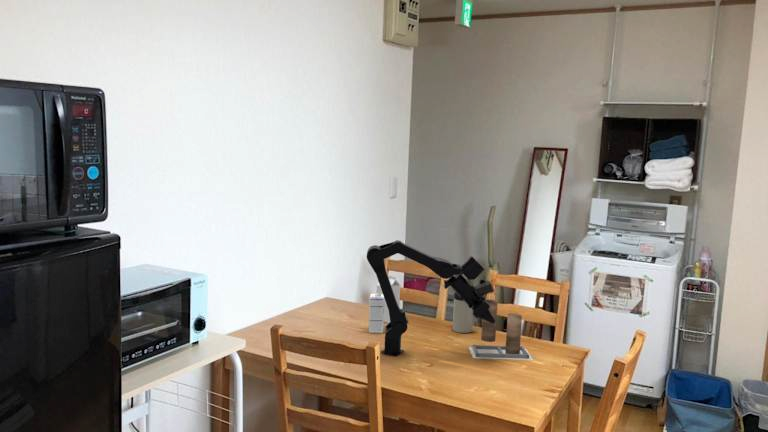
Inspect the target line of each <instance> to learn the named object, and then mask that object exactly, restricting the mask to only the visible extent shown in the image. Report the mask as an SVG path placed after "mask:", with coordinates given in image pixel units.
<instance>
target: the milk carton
mask: <svg viewBox="0 0 768 432" xmlns="http://www.w3.org/2000/svg"><path fill="white" fill-rule="evenodd" d="M388 277H389V280H390V283H391V286H392V289H393V292H394V295H395V298H396V301H397V303H398V306H399V307H400V305H401V304H400V300H401V299H400V297H401V296H400V295H401V285H400V283H399V282H398V280H396V279H397V278H396V276H392V275H388ZM375 294H383V293H382V290H381V287H380V284H379V281H377V284H376V293H375ZM384 323H387V324H389V323H390V316H389V310H388V307H387V304H386V301H385V298H384Z"/></svg>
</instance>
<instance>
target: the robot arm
mask: <svg viewBox="0 0 768 432" xmlns="http://www.w3.org/2000/svg"><path fill="white" fill-rule="evenodd" d="M397 254H398V255H401V256H403V257H405V258H408V259H410V260H412V261H414V262H416V263H418V264H421V266H425V267H426V268H428V269H430V270H431V271H432V272H434V274H436V275H437V276H439V277H440V278H441V279H443V288H444V289H445V290H447V289H448V288H449V287H450V288H451V289H452V290H453V291H454V293H455V292H456V293H457V294H458V295H459V296H460V298H461V299H462V300H464V302H465V303H466V304H467V305H468V307H469V308H471V307H472V306H473V307H472V314H473V317H475V319H481V320H482V319H484V320H486V321H488V322H491V323H493V324H494V323H495V322H496V323H497V321H495V320H494V318H493V317H492V315H491V313H490V312H489V307H490V305H489V304H488V303H487V302H486V301H485V300H486V298H485V297H484V296H485V295H488V294H490V293H491V294H492V293H493V292H494V291H495V290H494V287H493V285H492V282H491V281H490V280H485V279H484V278H481V279H479V281H478V284H477V285H475V286H474V285H473V284H472V283H470V282H469V281H472V280H473V281H474V280H475V279H477V278H478V277H479V276H480V275H481V274H482V273H484V271H486V269H485V268H484V266H483V265H482V264H481V262H479V261H478V260H477V259H476V258H474V256H472V255H470V257H468V258H467V260H466V261H465V262H464V263H462V264H458V263H457V264H456V263H452V262H451V261H450V260H448V259H444V258H441V257H436V256H432V255H429V254H428V253H426V252H424V251H421V250H418V249H417V248H414V247H412V246H410V245H409V244H406V243H404V242H403V241H401V240H394V241H392V242H389V243H384V244H381V245H377V244H375V245H371V246H370V247H368V249H367V252H366V260H367V261H368V263H369V265H370V267H371V269H372V270H373V272H374V273H375V275H376V278H377V282H379V284H380V287H381V290H382V293H383V295H384V298H385V301H386V304H387V307H388V310H389V316H390V323H387V325H384V347H383V350H381V351H380V354H383V355H388V356H392V357H398V356H400V355H402V354H403V353H405V350H404V349H402V335H403V334H404V333H406V331H407V330H408V324H409V317H408V316H407V314H406V311H405V307H402V308H401V306H400V305H399V306H398V303H397V301H396V298H395V295H394V292H393V289H392V286H391V283H390V280H389V277H388V276H389V275H388V272H387V269H386V264H385V259H388V258H390V257H392V256H395V255H397ZM463 275H464V276H463ZM466 278H467V279H466Z"/></svg>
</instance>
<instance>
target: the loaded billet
mask: <svg viewBox="0 0 768 432" xmlns="http://www.w3.org/2000/svg"><path fill="white" fill-rule="evenodd" d="M522 319H523V315H522V314H519V313H508V314H507V319H506V320H507V321H506V336H505V337H506V339H505V346H506V350H505V353H506V354H520V346H521V341H522V340H521V338H522V337H521V336H522V322H523V320H522Z"/></svg>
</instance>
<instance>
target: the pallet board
mask: <svg viewBox="0 0 768 432" xmlns="http://www.w3.org/2000/svg"><path fill="white" fill-rule="evenodd" d="M468 349H469V352H470V354H471V356H472V359H486V360H518V361H519V360H520V361H521V360H522V361H523V360H524V361H534V359H533V357H532V356H531V354H530V353H529V351H528V350H527V348H525V347H524V346H521V345H520V354H506V353H505V350H506V345H491V344H489V345H488V344H487V345H486V344H485V345H483V344H472V346H468Z"/></svg>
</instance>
